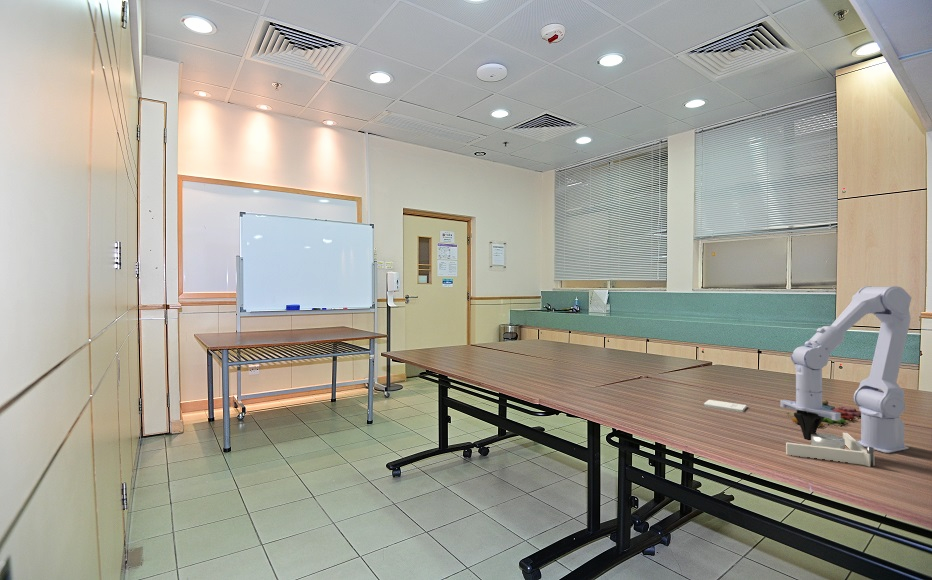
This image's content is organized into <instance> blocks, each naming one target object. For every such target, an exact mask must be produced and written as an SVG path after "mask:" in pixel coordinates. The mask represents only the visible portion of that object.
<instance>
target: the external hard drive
mask: <svg viewBox="0 0 932 580" xmlns="http://www.w3.org/2000/svg"><path fill="white" fill-rule="evenodd" d="M703 407H708V408H713V409H714V408H715V409H719V410H726V411H733V412H739V413H743V412H744V411H745V410H746V409H747V407H748V406H747V405H746V404H741V403H734V402H727V401H722V400H721V401H720V400H715V399H708V400H706V401H705V402H704V403H703Z"/></svg>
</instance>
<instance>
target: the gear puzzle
mask: <svg viewBox="0 0 932 580" xmlns="http://www.w3.org/2000/svg"><path fill="white" fill-rule="evenodd" d="M822 407H824V408H827V409H830V410H833V411H836V412H839V413H841V420H837V421H835V420H832V419H830V418H826V417H824V419H823V420H822V422H821V423H820V425H819V426H818V428H819V427H824V426H832V425H834V426H833V427H838V426H840V427H842V426H843V425H846V423H847V422H849V423H851V422H852V421H853V420H854V421H856V420H857V419H856V418H859V419H861V417H859V416H861V411H859V410H857V409H856V408H855V407H851V406H842V405H841V406H839V407H836V406H832V405H829V401H828V400H827V399H822ZM794 413H797V410H795V411H794V412H792V411H788V412H786V415H787V416H788V417H790V418H791V421H792V422H793V423H795V424H799V423H798V421H797V419H796V418H795V416H794ZM850 419H851V420H850ZM855 419H856V420H855ZM850 421H851V422H850ZM841 423H843V424H841ZM823 424H825V425H823ZM828 424H830V425H828ZM847 424H848V423H847ZM841 425H842V426H841Z"/></svg>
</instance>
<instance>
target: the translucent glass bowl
mask: <svg viewBox="0 0 932 580" xmlns="http://www.w3.org/2000/svg"><path fill="white" fill-rule="evenodd" d="M810 445H813V446H821V447H829V448H838V449H846V446H845V439H844V438H843V436H842V437H841V436H839V435H836V434H830V433H826V432H825V433H823V432H816V433H812V434H811V440H810Z"/></svg>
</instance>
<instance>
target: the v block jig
mask: <svg viewBox="0 0 932 580" xmlns="http://www.w3.org/2000/svg"><path fill="white" fill-rule="evenodd" d="M842 438H844V439H845V445H846V446H847V447H848V448H849V449H850V450H849V449H848V448H847V447H846V446H845V447H846V448H847V449H846V448H845V449H838V448H829V447H821V446H813V445H811V444H804V443H803V444H802V443H795V442H794V443H793V442H785V454H786V456H791V455H792V457H799V456H800V457H801V458H807V457H810V458H809V459H814V458H817V459H818V460H822V459H825V460H824V461H830V460H833V461H832V462H838V461H840V462H839V463H845V462H848V463H847V464H853V465H860V466H866V467H868V468H869V467H871V468H872V467H873V468H874V466H875V453H874V452H875V450H874V448H873V447H864V446H862V445H860V444H859V443H858V442H857V441H858V440H856V439H855V438H854V437H852V436H851V435H850V434H849V433H848V432H842ZM817 459H816V460H817Z"/></svg>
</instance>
